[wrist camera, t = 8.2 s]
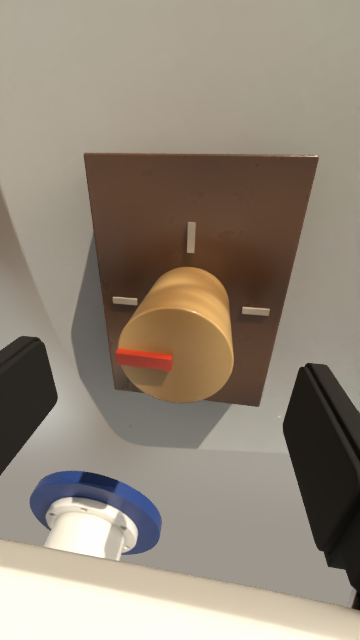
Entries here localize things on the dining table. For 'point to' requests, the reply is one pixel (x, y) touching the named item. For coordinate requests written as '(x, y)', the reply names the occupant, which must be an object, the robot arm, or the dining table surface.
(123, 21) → the dining table surface
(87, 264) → the dining table surface
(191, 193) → the panel
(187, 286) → the dial
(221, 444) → the dining table surface
